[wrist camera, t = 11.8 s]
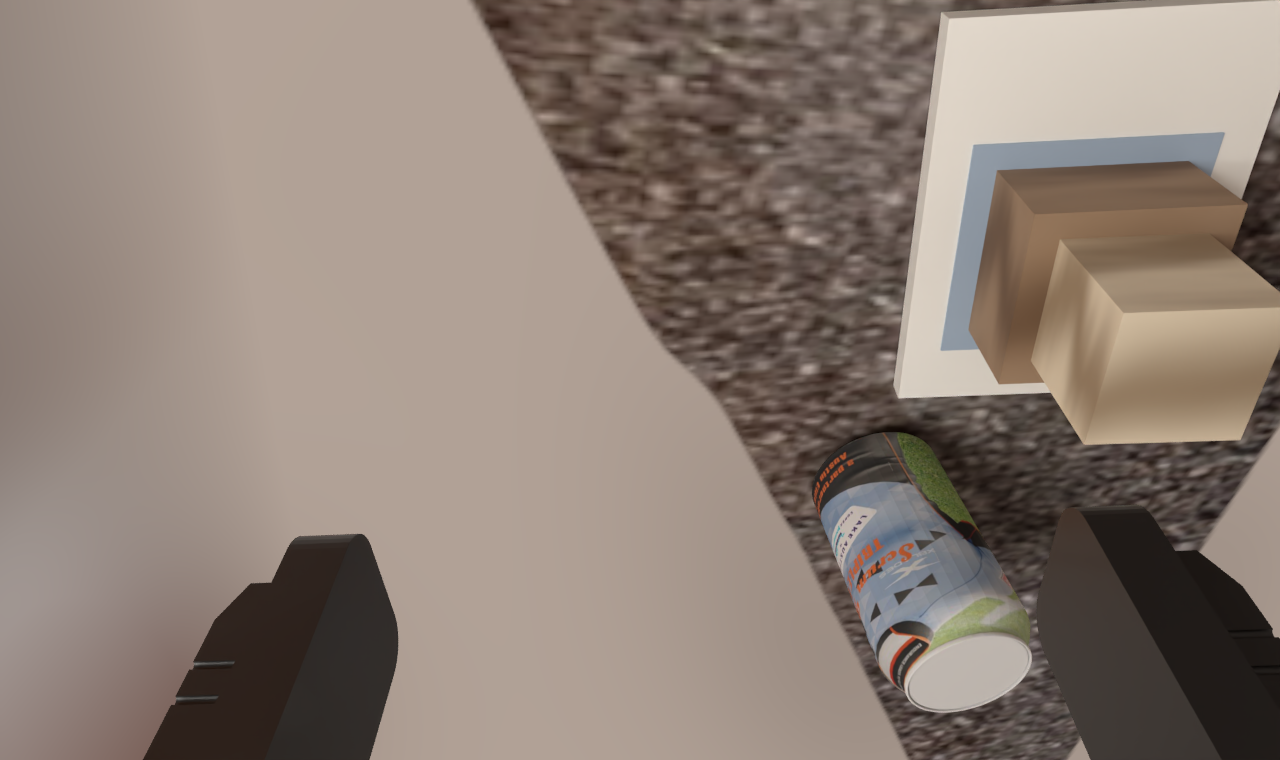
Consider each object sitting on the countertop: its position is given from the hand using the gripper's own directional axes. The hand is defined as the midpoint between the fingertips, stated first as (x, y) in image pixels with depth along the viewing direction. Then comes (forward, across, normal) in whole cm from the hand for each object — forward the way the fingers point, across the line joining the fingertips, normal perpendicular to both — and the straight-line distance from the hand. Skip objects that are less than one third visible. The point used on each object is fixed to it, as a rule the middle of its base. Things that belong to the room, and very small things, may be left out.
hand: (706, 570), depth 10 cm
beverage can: (+26, -9, +21) cm, 34 cm away
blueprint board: (+26, -15, +8) cm, 31 cm away
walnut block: (+24, -15, +9) cm, 30 cm away
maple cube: (+20, -15, +9) cm, 27 cm away
